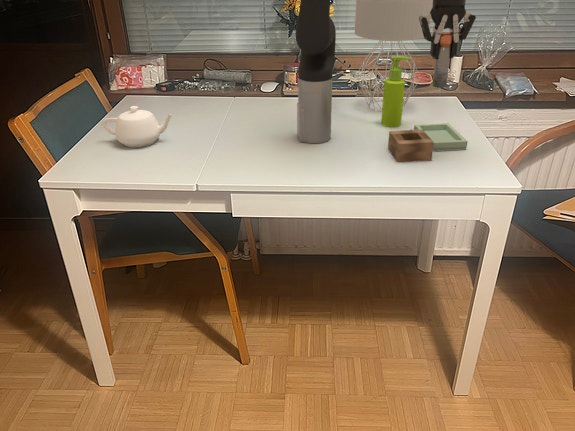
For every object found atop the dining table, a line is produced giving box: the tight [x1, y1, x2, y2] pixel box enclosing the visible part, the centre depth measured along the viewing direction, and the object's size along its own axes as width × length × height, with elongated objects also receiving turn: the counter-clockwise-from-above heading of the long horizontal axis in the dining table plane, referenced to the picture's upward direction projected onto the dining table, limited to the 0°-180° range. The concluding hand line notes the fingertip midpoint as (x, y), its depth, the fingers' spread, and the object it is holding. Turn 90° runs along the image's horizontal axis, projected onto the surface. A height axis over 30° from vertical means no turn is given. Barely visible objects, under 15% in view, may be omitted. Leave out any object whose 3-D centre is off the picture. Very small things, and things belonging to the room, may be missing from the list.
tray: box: [413, 122, 468, 153], centre depth 148 cm, size 10×14×2 cm
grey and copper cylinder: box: [432, 31, 453, 89], centre depth 134 cm, size 4×4×13 cm
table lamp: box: [354, 0, 433, 112], centre depth 165 cm, size 22×22×40 cm
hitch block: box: [387, 129, 434, 163], centre depth 139 cm, size 9×9×5 cm
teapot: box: [101, 105, 174, 148], centre depth 149 cm, size 20×12×10 cm, turn 90°
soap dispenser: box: [380, 55, 412, 128], centre depth 156 cm, size 6×7×20 cm
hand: (442, 57), depth 134 cm, fingers closed on grey and copper cylinder, 3 cm apart
